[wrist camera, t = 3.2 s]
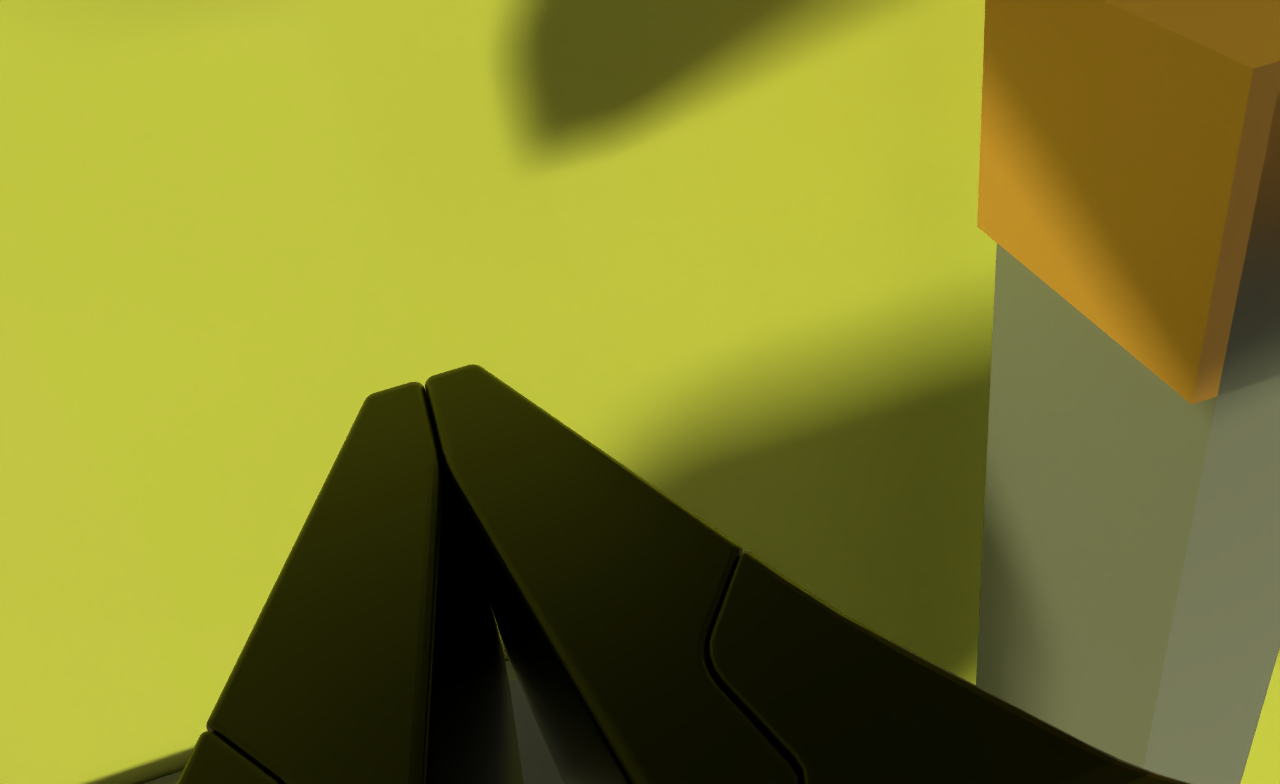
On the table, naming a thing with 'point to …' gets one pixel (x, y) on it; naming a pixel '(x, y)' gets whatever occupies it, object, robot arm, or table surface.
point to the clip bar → (1134, 373)
